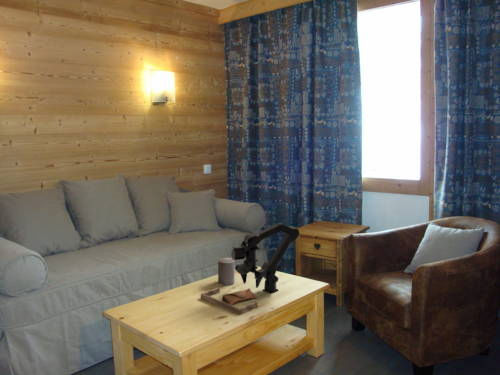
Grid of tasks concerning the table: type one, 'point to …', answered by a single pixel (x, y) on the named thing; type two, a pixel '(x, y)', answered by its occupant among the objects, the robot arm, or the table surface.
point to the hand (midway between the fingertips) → (250, 285)
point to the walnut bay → (225, 305)
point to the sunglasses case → (238, 297)
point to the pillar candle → (226, 271)
